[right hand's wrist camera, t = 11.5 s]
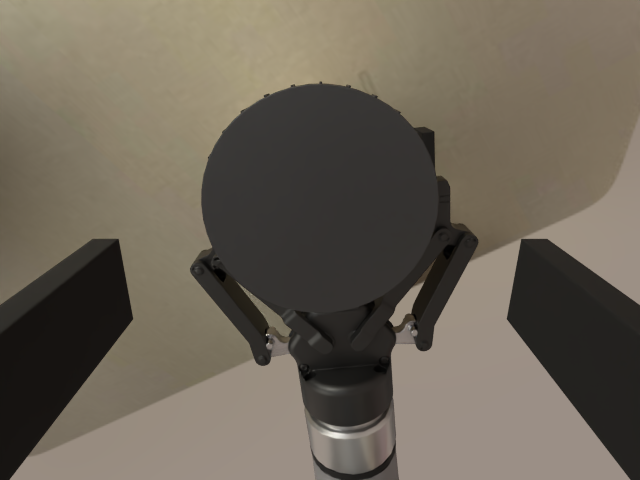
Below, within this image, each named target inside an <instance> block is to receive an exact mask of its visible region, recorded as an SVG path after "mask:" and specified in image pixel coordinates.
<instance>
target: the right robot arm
mask: <svg viewBox="0 0 640 480" xmlns="http://www.w3.org/2000/svg"><path fill="white" fill-rule="evenodd" d="M132 320H133V316H132V310H131V305H130V299H129V294H128V288H127V283H126V277H125V272H124V266H123V261H122V255H121V250H120V244H119V239H92V240H91V241H89V242H88V243H87V244H85V245H84V246H82V247H81V248H80V249H78V250H77V251H75V252H74V253H73V254H71V255H70V256H68V257H67V258H66V259H64V260H63V261H61V262H60V263H59V264H57V265H56V266H54V267H53V268H52V269H50V270H49V271H47V272H46V273H45V274H43V275H42V276H40V277H39V278H38V279H36V280H35V281H33V282H32V283H31V284H29V285H28V286H26V287H25V288H24V289H22V290H21V291H19V292H18V293H17V294H15V295H14V296H12V297H11V298H10V299H8V300H7V301H5V302H4V303H3V304H1V305H0V480H10V478H11V477H12V476H13V474H14V473H15V472H16V470H17V469H18V468H19V467H20V465H21V464H22V463H23V461H24V460H25V459H26V457H27V456H28V455H29V454H30V452H31V451H32V450H33V448H34V447H35V446H36V445H37V443H38V442H39V441H40V439H41V438H42V437H43V435H44V434H45V433H46V432H47V430H48V429H49V428H50V426H51V425H52V424H53V422H54V421H55V420H56V419H57V417H58V416H59V415H60V413H61V412H62V411H63V409H64V408H65V407H66V406H67V404H68V403H69V402H70V400H71V399H72V398H73V396H74V395H75V394H76V393H77V391H78V390H79V389H80V387H81V386H82V385H83V383H84V382H85V381H86V380H87V378H88V377H89V376H90V374H91V373H92V372H93V371H94V369H95V368H96V367H97V365H98V364H99V363H100V361H101V360H102V359H103V358H104V356H105V355H106V354H107V352H108V351H109V350H110V348H111V347H112V346H113V345H114V343H115V342H116V341H117V339H118V338H119V337H120V335H121V334H122V333H123V332H124V330H125V329H126V328H127V326H128V325H129V324H130V322H131V321H132ZM507 320H508V321H509V322H510V324H511V325H512V326H513V328H514V329H515V330H516V332H517V333H518V334H519V335H520V337H521V338H522V339H523V341H524V342H525V343H526V345H527V346H528V347H529V348H530V350H531V351H532V352H533V354H534V355H535V356H536V357H537V359H538V360H539V361H540V363H541V364H542V365H543V367H544V368H545V369H546V370H547V372H548V373H549V374H550V376H551V377H552V378H553V379H554V381H555V382H556V383H557V385H558V386H559V387H560V389H561V390H562V391H563V393H564V394H565V395H566V396H567V398H568V399H569V400H570V402H571V403H572V404H573V406H574V407H575V408H576V409H577V411H578V412H579V413H580V415H581V416H582V417H583V418H584V420H585V421H586V422H587V424H588V425H589V426H590V428H591V429H592V430H593V431H594V433H595V434H596V435H597V437H598V438H599V439H600V441H601V442H602V443H603V445H604V446H605V447H606V448H607V450H608V451H609V452H610V454H611V455H612V456H613V457H614V459H615V460H616V461H617V463H618V464H619V465H620V467H621V468H622V469H623V470H624V472H625V473H626V474H627V476H628V477H629V478H630V480H640V305H639V304H637V303H636V302H635V301H633V300H632V299H630V298H629V297H628V296H626V295H625V294H623V293H622V292H621V291H619V290H618V289H616V288H615V287H613V286H612V285H611V284H609V283H608V282H607V281H605V280H604V279H602V278H601V277H600V276H598V275H597V274H595V273H594V272H593V271H591V270H590V269H588V268H587V267H586V266H584V265H583V264H581V263H580V262H578V261H577V260H576V259H574V258H573V257H572V256H570V255H569V254H567V253H566V252H565V251H563V250H562V249H560V248H559V247H558V246H556V245H555V244H553V243H552V242H551V241H549V240H548V239H521V244H520V250H519V255H518V261H517V266H516V272H515V277H514V283H513V289H512V294H511V299H510V305H509V310H508V316H507Z"/></svg>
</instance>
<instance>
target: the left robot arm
mask: <svg viewBox="0 0 640 480" xmlns="http://www.w3.org/2000/svg"><path fill="white" fill-rule="evenodd" d="M414 129H415V131H417V132H418V133H419V134H418V135H419V136H420V138H421V139H422V141H423V143H424V145H425V147H426V148H427V150H428V152H429V154H430V156H431V160H432V163H433V166H434V168H435V148H434V131H432V130H430V129H428V128H426V127H418V128H414ZM209 157H210V156H209ZM209 157H208V159H209ZM436 178H437V183H438V196H439V203H438V215H437V219H436V224H435V229H434V232H433V234H432V237H431V240H430V243H429V245H428V247H427V248H426V250H425V252H424V254H423V256H422V258H421V259H420V260H419V262H418V263H417V265H416V266H415V268H414V269H413V270H412V271H411V272H410V273H409V274H408V276H407V277H406V278H405V279H404V280H403V281H401V282H400V283H399V284H398V285H397V286H396V287H395V288H393V289H392V290H390V291H389V292H387V293H386V294H384V295H383V296H381V297H379V298H377V299H375V300H373V301H371V302H369V303H367V304H364V305H361V306H359V307H356V308H352V309H348V310H344V311H337V312H330V313H312V312H301V311H297V310H292V309H287V308H284V307H281V306H278V305H276V304H273V303H271V302H269V301H267V300H265V299H262V298H261V297H259V296H257V295H256V294H254V293H253V292H251V291H249V290H248V289H247V288H246V287H244V286H243V285H242V284H241V283H240V282H238V281H237V280H236V279H235V278H234V277H233V275H232V274H231V273H230V272H229V271H228V270H227V269H226V267H225V266H224V265H223V263H222V262H221V261H220V259H219V258H218V256H217V254H216V252H215V251H214V249H213V247H212V248H211V249H209V250H203V251H202V252H201V253H200V254H199V255H198V257H197V258H196V260H195V261H194V263H193V264H192V266H191V268H190V272H191V274H192V275H193V276H194V278H195V279H196V280H197V281H198V282H199V284H200V285H201V286H202V287H203V288H204V290H205V291H206V292H207V293H208V294H209V296H210V297H211V298H212V299H213V300H214V302H215V303H216V304H217V305H218V306H219V308H220V309H221V310H222V311H223V312H224V314H225V315H226V316H227V317H228V318H229V319H230V321H231V322H232V323H233V324H234V325H235V327H236V328H237V329H238V330H239V331H240V333H241V334H242V335H243V336H244V337H245V339H246V340H247V341H248V342H249V344H250V347H251V350H252V353H253V356H254V359H255V361H256V363H257V364H258V365H261V366H265V365H268V364H269V363H270V360H271V357H274V356H279V355H284V354H289V353H290V354H291V355H292V356H293V357H294V359H295V360H296V362H297V365H298V372H299V378H300V384H301V391H302V397H303V402H304V405H305V416H306V422H307V428H308V434H309V439H310V447H311V451H312V455H313V464H314V472H315V480H399V477H398V467H397V457H396V440H395V438H396V431H395V417H394V403H393V398H392V397H393V385H392V369H391V352H392V349H393V347H394V346H395V344H416V347H417V348H418V349H419V350H420V351H427V350H429V349H430V348H431V346H432V341H433V332H434V325H435V323H436V321H437V320H438V318H439V316H440V314H441V312H442V310H443V309H444V307H445V305H446V303H447V301H448V299H449V297H450V295H451V294H452V292H453V290H454V288H455V286H456V284H457V283H458V281H459V279H460V277H461V275H462V273H463V271H464V270H465V268H466V266H467V264H468V262H469V260H470V258H471V257H472V255H473V253H474V251H475V249H476V247H477V245H478V239H477V237H476V236H475V235H474V234H473V233H472V232H471V231H470V230H469V229H468V228H467V227H466V226H465V225H463V224H454V223H450V186H449V184H448V181H447V180H446V179H445V178H443V177H442V176H436ZM437 256H438V257H437ZM435 259H436V260H435ZM434 260H435V262H434V264H433V266H432V268H431V270H430V272H429V274H428V276H427V278H426V280H425V282H424V284H423V286H422V288H421V290H420V292H419V294H418V296H417V298H416V300H415V302H414V305H413V308H412V313H411V314H406V315H405V318H404V319H403V322H402V323H401V325H399V326H396V327H393V325H392V323H391V322H390V321H389V318H390V317H391V316H392V315H393V313H394V311H395V307H396V305H397V304H398V303H399V302H400V300H401V299H402V298H403V297H404V296H405V295H406V293H407V292H408V291H409V290H410V289H411V287H412V286H413V285H414V284H415V283H416V281H417V280H418V279H419V278H420V277H421V275H422V274H423V273H424V272H425V271H426V270H427V268H428V267H429V266H430V265H431V264H432V262H433V261H434ZM236 281H237V282H238V283H239V284H240V285H242V286H243V287H244V288H246V289H247V290H248V291H249V292H251V293H252V294H253V295H254V296H256V297H257V298H258V299H259V300H261V301H262V302H263V303H264V304H266V305H267V306H268V307H269V308H271V309H272V310H273V311H274V312H276V313H277V314H278V315H279V316H281V317H282V319H283V321H284V323H285V324H286V325H287V326H288V327H289V328H291V329H292V331H291V332H290V334H289V336H288V337H284V336H282V335H280V334H279V332H278V331H277V330H276V328H275V327H270V328H269V325H268V323H267V321H266V319H265V318H264V316H263V315H262V313H261V312H260V311H259V310H258V308H257V307H256V306H255V305H254V303H253V302H252V301H251V300H250V298H249V297H248V296H247V295H246V293H245V292H244V291H243V290H242V288H241V287H240V286H239V285H238V283H237V282H236Z"/></svg>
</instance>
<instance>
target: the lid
mask: <svg viewBox="0 0 640 480" xmlns="http://www.w3.org/2000/svg"><path fill="white" fill-rule="evenodd" d="M264 97H265V98H263V99H260V100H259V101H257V102H256V103H254V104H253V105H251V106H250V107H248V108H246V109H244V110H242V111H241V114H240V115H239V116H237V117H236V118H235V119H234V120H233V121H232V122H231V124H230V125H229V126H228V127H227V128H226V129H225V130H224V131H223V132H222V135H221V136H220V138H219V140H218V141H217V143H216V144H215V146H214V148H213V150H212V153H211V154H210V157H209V159H208V162H207V166H206V169H205V173H204V177H203V184H202V201H201V205H202V213H203V220H204V224H205V228H206V232H207V235H208V237H209V240H210V242H211V244H212V247H213V249H214V251H215V252H216V254H217V256H218V258H219V259H220V261H221V262H222V263H223V265H224V266H225V267H226V269H227V270H228V271H229V272H230V273H231V274H232V275H233V277H234V278H235V279H236V280H237V281H238V282H240V283H241V284H242V285H243V286H244V287H246V288H247V289H248V290H249V291H251V292H253V293H254V294H256V295H257V296H259V297H261V298H262V299H265V300H267V301H269V302H271V303H273V304H276V305H278V306H281V307H284V308H287V309H292V310H297V311H301V312H312V313H330V312H337V311H344V310H348V309H352V308H356V307H359V306H361V305H364V304H367V303H369V302H371V301H373V300H375V299H377V298H379V297H381V296H383V295H384V294H386V293H387V292H389V291H390V290H392V289H393V288H395V287H396V286H397V285H398V284H399V283H400V282H401V281H403V280H404V279H405V278H406V277H407V276H408V274H409V273H410V272H411V271H412V270H413V269H414V268H415V266H416V265H417V263H418V262H419V260H420V259H421V258H422V256H423V254H424V252H425V250H426V248H427V247H428V245H429V243H430V240H431V237H432V234H433V232H434V229H435V224H436V219H437V215H438V203H439V196H438V183H437V178H436V173H435V168H434V166H433V163H432V160H431V156H430V154H429V152H428V150H427V148H426V147H425V145H424V143H423V141H422V139H421V138H420V136H419V135H418V134H419V133H418V132H417V131H415V129H414V128H413V127H412V126H411V125H410V124H409V123H408V122H407V120H406V119H405V118H404V117H403V116H402V115H400V113H401V112H399V111H397V110H395V109H393V108H392V107H391V106H389V105H388V104H386V103H384V102H383V101H381V100H379V99H377V97H378V96H376V95H373V94H372V96H371V95H369V94H367V93H364V92H362V91H359V90H357V89H353V88H351V86H350V85H347V86H346V87H345V86H341V85H334V84H322V82H320V84H306V85H300V86H295V84H294V85H291V88H287V89H284V90H281V91H278V92H275V93H273V94H271V95H270V94H266V95H264Z"/></svg>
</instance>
